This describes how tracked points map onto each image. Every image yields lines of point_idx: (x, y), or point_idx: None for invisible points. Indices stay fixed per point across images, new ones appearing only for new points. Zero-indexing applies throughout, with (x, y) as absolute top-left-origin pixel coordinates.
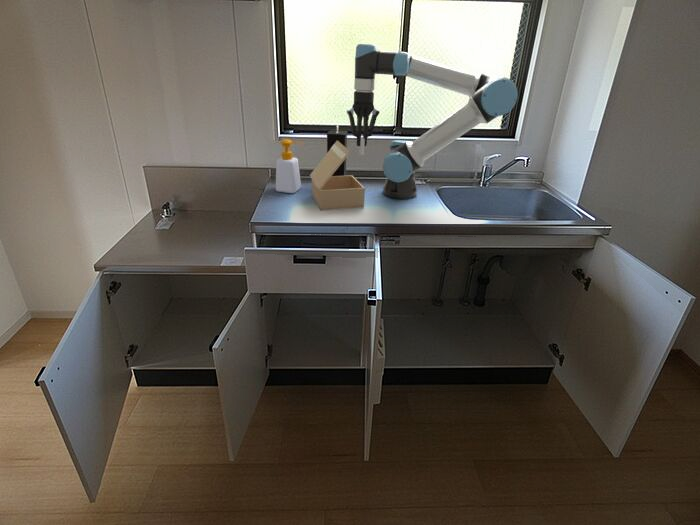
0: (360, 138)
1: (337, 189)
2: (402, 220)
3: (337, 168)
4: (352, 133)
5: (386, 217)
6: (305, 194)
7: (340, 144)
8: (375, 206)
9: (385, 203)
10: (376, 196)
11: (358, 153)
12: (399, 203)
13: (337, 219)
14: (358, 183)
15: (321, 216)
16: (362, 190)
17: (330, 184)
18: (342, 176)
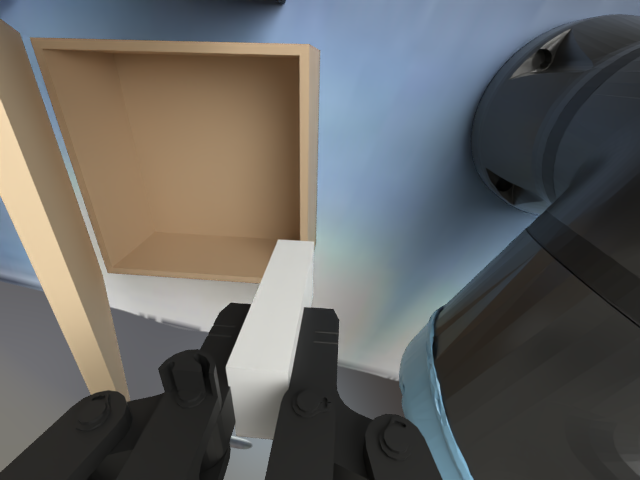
0: (232, 417)
1: (180, 274)
2: (391, 358)
3: (119, 353)
4: (62, 435)
5: (355, 332)
6: (75, 18)
7: (23, 237)
8: (361, 247)
9: (415, 229)
10: (422, 138)
11: (278, 241)
12: (471, 242)
13: (204, 309)
14: (300, 213)
15: (157, 279)
16: None
17: (178, 53)
18: (236, 53)
